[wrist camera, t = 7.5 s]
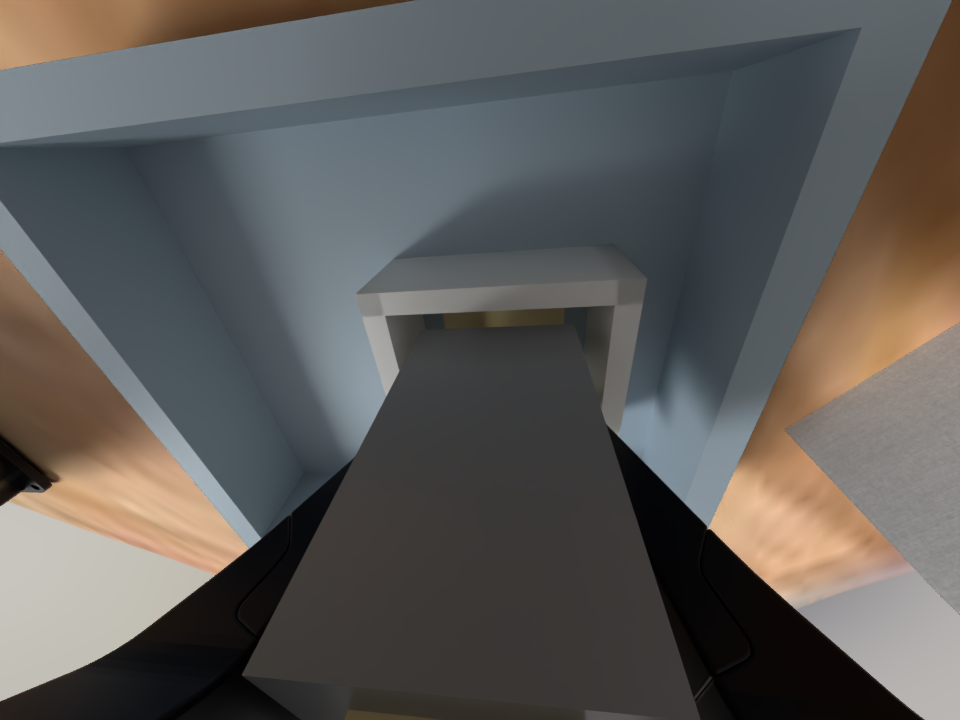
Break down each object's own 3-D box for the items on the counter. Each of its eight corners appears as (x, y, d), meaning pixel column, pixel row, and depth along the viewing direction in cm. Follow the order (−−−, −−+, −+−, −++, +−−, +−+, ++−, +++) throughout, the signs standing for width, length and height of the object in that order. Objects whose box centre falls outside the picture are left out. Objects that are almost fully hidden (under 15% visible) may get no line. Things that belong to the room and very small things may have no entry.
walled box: (651, 482, 16) (687, 572, 13) (299, 475, 18) (250, 550, 15) (780, 12, 7) (997, -97, 4) (93, 110, 10) (-129, 92, 6)
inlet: (593, 417, 13) (611, 480, 11) (429, 418, 14) (410, 476, 12) (613, 244, 10) (647, 278, 7) (393, 258, 11) (355, 294, 8)
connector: (566, 437, 11) (636, 848, 4) (442, 437, 11) (349, 806, 5) (574, 324, 9) (727, 805, 2) (420, 329, 9) (209, 738, 3)
